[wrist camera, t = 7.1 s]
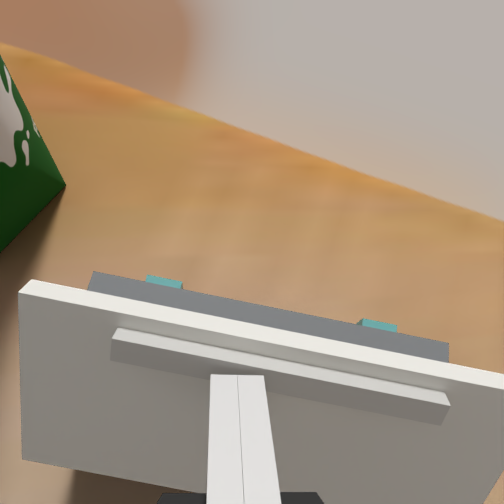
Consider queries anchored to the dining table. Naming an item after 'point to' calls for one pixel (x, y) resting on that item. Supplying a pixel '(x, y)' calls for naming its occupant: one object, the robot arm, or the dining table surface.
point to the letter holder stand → (269, 315)
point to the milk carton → (22, 164)
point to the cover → (278, 398)
